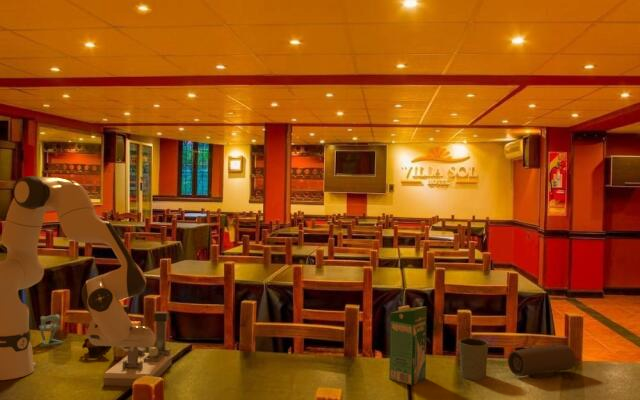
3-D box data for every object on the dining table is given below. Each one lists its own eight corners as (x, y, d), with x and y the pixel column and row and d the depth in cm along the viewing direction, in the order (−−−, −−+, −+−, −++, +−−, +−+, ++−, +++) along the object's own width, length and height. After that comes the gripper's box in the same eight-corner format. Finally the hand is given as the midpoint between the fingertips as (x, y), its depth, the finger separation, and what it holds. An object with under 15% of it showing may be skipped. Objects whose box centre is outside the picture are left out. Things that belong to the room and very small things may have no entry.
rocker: (130, 352, 192) (130, 348, 192) (133, 350, 195) (134, 345, 195) (141, 355, 192) (142, 350, 192) (145, 352, 195) (145, 348, 195)
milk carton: (402, 372, 191) (403, 302, 190) (425, 378, 185) (427, 305, 184) (389, 379, 184) (390, 306, 183) (412, 385, 178) (413, 310, 177)
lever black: (153, 355, 192) (154, 313, 192) (156, 353, 195) (156, 311, 194) (166, 356, 192) (166, 313, 192) (168, 354, 194) (168, 311, 194)
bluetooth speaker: (556, 367, 198) (556, 340, 198) (576, 375, 190) (577, 347, 189) (506, 374, 190) (506, 346, 190) (525, 383, 181) (525, 354, 181)
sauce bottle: (127, 362, 198) (127, 308, 197) (110, 361, 198) (110, 307, 197) (133, 356, 204) (134, 304, 204) (117, 356, 204) (117, 304, 204)
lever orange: (124, 369, 178) (124, 322, 178) (127, 366, 180) (127, 321, 180) (137, 369, 178) (137, 323, 177) (140, 367, 180) (140, 321, 180)
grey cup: (467, 381, 182) (468, 346, 182) (452, 371, 192) (453, 338, 192) (493, 379, 185) (494, 344, 184) (477, 369, 195) (478, 336, 194)
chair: (57, 339, 226) (57, 310, 225) (62, 343, 219) (62, 314, 219) (36, 342, 221) (36, 313, 220) (41, 347, 214) (41, 317, 214)
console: (103, 385, 175) (103, 365, 174) (131, 363, 197) (131, 345, 196) (149, 386, 174) (149, 367, 174) (171, 364, 196) (171, 346, 196)
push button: (147, 358, 187) (147, 349, 187) (150, 355, 190) (150, 346, 190) (156, 358, 187) (156, 349, 187) (159, 355, 190) (159, 346, 190)
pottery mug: (75, 361, 200) (77, 339, 203) (91, 365, 208) (92, 343, 212) (105, 354, 198) (105, 332, 202) (119, 358, 206) (119, 337, 210)
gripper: (152, 319, 168) (162, 341, 178) (88, 317, 169) (102, 339, 179) (146, 337, 164) (158, 358, 174) (81, 335, 165) (95, 357, 175)
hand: (129, 349), depth 176 cm, fingers closed
